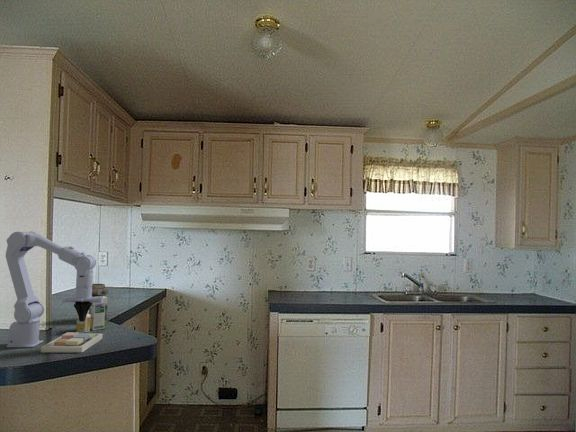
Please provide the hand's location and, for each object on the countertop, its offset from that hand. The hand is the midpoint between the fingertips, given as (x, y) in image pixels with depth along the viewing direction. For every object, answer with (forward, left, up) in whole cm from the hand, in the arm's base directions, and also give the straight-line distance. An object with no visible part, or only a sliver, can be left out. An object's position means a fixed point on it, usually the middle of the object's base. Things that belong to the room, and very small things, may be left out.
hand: (82, 321), depth 150 cm
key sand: (0, -6, -8) cm, 9 cm away
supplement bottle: (-8, +20, -10) cm, 24 cm away
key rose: (-6, +3, -8) cm, 10 cm away
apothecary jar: (-12, +42, -10) cm, 44 cm away
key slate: (0, 0, -8) cm, 8 cm away
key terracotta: (-6, -3, -9) cm, 11 cm away
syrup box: (-4, +26, -10) cm, 28 cm away
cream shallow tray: (-3, 0, -9) cm, 10 cm away
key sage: (0, +6, -9) cm, 10 cm away
